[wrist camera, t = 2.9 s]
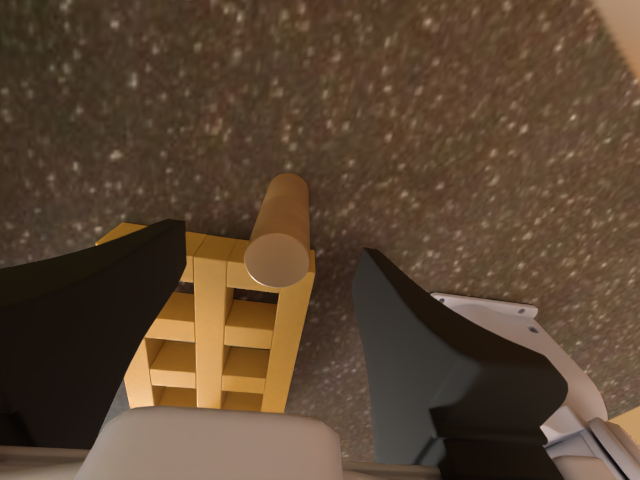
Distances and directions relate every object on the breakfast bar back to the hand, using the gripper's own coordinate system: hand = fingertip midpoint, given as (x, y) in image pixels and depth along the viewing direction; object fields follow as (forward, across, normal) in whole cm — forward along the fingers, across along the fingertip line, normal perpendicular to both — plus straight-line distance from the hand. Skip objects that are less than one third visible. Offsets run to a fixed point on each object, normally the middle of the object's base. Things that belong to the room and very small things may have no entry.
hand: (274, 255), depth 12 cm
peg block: (+7, +4, +13) cm, 15 cm away
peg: (+7, 0, 0) cm, 7 cm away
